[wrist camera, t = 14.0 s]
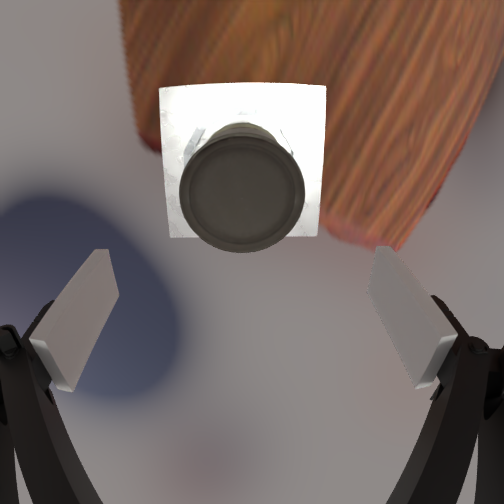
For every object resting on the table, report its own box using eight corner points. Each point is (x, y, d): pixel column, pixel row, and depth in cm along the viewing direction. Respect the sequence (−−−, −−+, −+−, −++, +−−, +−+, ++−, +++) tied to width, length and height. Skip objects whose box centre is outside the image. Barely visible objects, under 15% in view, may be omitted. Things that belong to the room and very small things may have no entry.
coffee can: (300, 170, 38) (328, 208, 26) (235, 216, 41) (231, 274, 28) (250, 104, 34) (254, 106, 22) (183, 156, 37) (153, 187, 24)
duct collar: (161, 88, 33) (155, 87, 31) (324, 86, 34) (329, 85, 32) (171, 234, 43) (167, 242, 41) (315, 233, 43) (319, 240, 41)
